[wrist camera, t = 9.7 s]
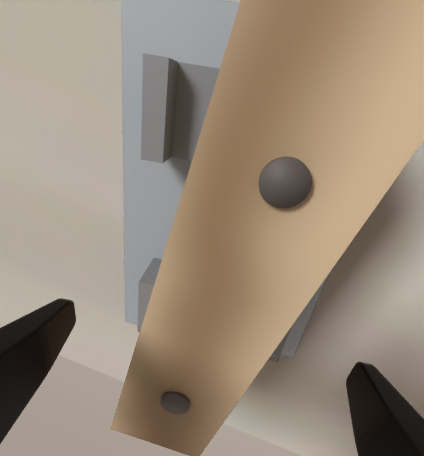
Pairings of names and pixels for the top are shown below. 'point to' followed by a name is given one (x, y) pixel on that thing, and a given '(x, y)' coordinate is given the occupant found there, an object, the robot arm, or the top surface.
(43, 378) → the robot arm
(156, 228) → the mount board
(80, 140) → the top surface
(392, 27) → the oak rail
